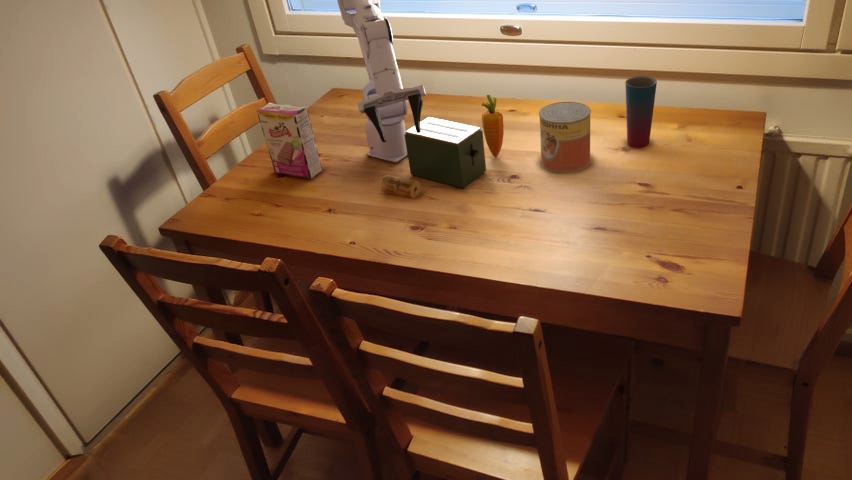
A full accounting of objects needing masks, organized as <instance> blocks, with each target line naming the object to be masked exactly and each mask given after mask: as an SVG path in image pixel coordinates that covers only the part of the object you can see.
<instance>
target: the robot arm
mask: <svg viewBox="0 0 852 480" xmlns="http://www.w3.org/2000/svg"><path fill="white" fill-rule="evenodd" d="M336 1H337V5H338V9H339V13H340V15H341V19H342V21H343V23H344V25H345V26H347V27H350V28H352V29H353V32H354V33H355V35H356V37H357V40H358V44H359V47H360V50H361V54H362V59H363V61H364V66H365V68H366V72H367V76H368V80H369V82H368V83H367V84H365V86H364V87H363V88H362V91H361V95H362V101H359V102H357V108H358V111H359V113H360V114H361V115H362V114H365V115H366V120H367V121H366V123H365V135H366V140H367V145H368V146H367V147H368V150H369V152H368V153H367V157H368V156H369V157H372V158H376V159H379V160H380V159H381V160H384V161H388V162H392V163H398V162H399V161H401V160H403V159H404V158H406V157H408V155H407V149H406V143H405V137H404V134H405V131H407V130H406V125H405V124H406V123H405V120H406V116H408V114H409V106H410V110H411V113H412V114H411V115H412V118H413V124H414V126H415V128H416V131H417V133H421V130H420V122H421V116H422V109H423V106H424V101H423V98H424V97H427V93H426V89H425V86H424V84H420V85H416V86H410V87H403V82H402V78H401V74H400V70H399V66H398V62H397V59H396V55H395V54H396V53H395V51H394V36H393V31H392V26H391V23H390V21H389V19H388V17H383V14H382V10H381V9H382V8H381V0H336ZM408 102H409V103H408Z"/></svg>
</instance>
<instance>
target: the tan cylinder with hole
mask: <svg viewBox="0 0 852 480" xmlns="http://www.w3.org/2000/svg"><path fill="white" fill-rule="evenodd" d="M379 187H380V191H381V192H383V193H385V194H388V195H392V196H398V197H402V198H405V199H406V198H407V199H413V200H414V199H415V198H417V197H418V196H419V195H420V193H421V184H420V182H419V181H416V180H413V179H409V178H405V177H395V176H393V175H389V174H388V175H384V176H383V177H382V178H381V181H380V183H379Z"/></svg>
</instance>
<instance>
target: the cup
mask: <svg viewBox="0 0 852 480" xmlns="http://www.w3.org/2000/svg"><path fill="white" fill-rule="evenodd" d="M624 83H625V112H626V115H625V116H626V143H627V146H628V147H630V148H632V149H643V148H646V147H648V146H649V145H650V141H651V140H650V139H651V131H652V124H653V115H654V107H655V100H656V91H657V84H658V81H657V79H656V78H654V77H650V76H645V75H638V76H632V77H629V78H627V79H626V80H625V82H624Z"/></svg>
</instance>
